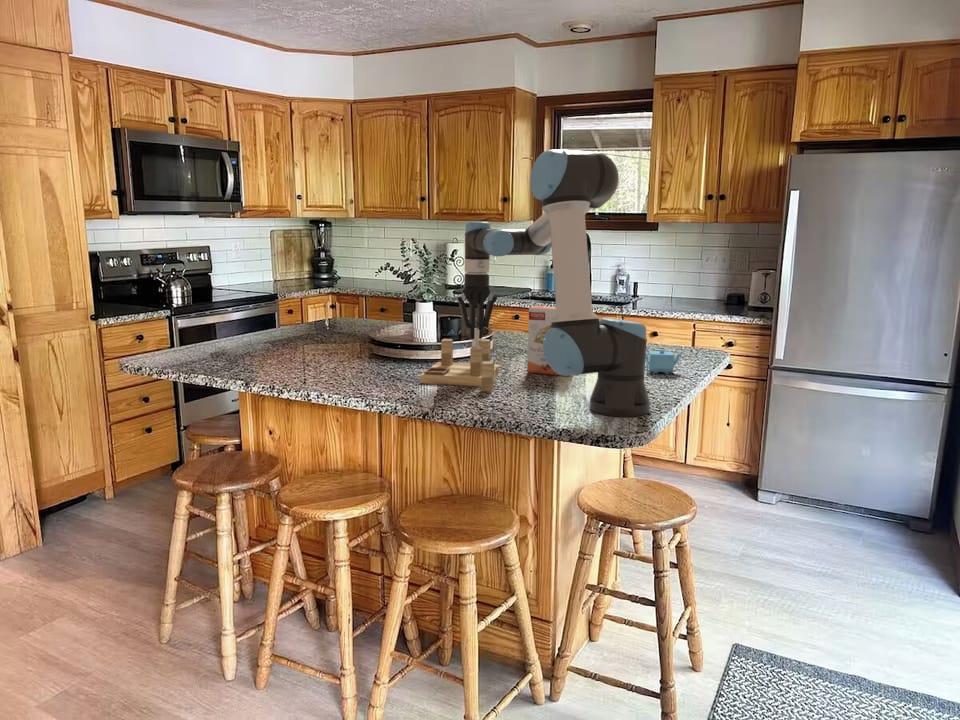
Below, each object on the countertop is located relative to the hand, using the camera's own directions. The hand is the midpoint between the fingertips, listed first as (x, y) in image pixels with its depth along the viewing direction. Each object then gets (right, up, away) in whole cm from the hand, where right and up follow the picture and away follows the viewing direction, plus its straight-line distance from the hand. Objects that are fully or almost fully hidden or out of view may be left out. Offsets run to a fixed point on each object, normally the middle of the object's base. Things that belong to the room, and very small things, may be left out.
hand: (475, 349), depth 222 cm
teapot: (+60, -8, +6) cm, 61 cm away
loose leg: (+4, -12, -19) cm, 22 cm away
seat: (-4, -9, -3) cm, 10 cm away
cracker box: (+24, -8, +4) cm, 25 cm away
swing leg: (+2, -6, -3) cm, 7 cm away
